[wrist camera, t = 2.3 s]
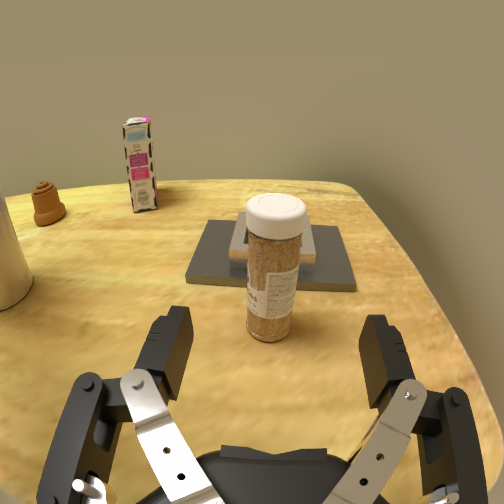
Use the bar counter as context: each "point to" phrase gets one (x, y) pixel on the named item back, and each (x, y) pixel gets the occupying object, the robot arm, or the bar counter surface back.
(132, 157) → the candy bar box
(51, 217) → the ornamental finial
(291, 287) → the sprinkles bottle
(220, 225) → the collar socket
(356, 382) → the bar counter surface
